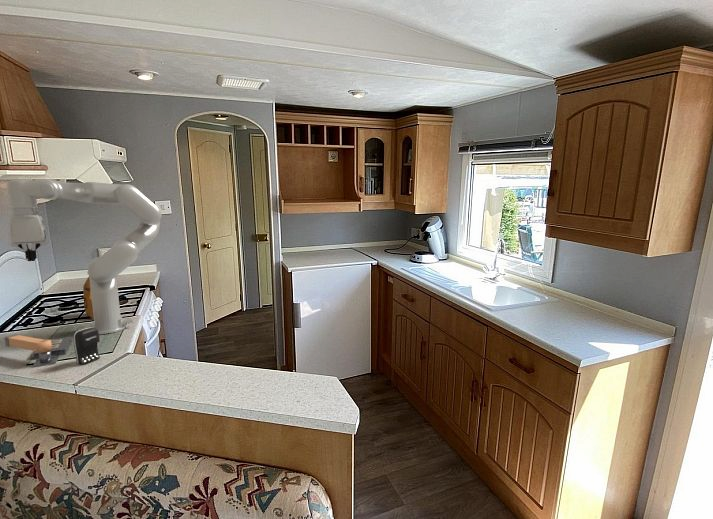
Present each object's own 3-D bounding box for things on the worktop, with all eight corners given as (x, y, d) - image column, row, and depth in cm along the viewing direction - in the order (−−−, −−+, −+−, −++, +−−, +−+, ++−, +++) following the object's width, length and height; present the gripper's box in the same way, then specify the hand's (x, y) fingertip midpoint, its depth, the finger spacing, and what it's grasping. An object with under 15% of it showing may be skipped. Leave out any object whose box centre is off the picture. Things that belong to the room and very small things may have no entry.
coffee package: (88, 321, 177) (82, 274, 174) (84, 315, 186) (78, 271, 183) (113, 316, 184) (108, 271, 180) (108, 311, 193) (103, 268, 190)
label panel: (72, 341, 150) (71, 336, 149) (65, 354, 137) (64, 348, 136) (43, 345, 145) (42, 340, 145) (33, 359, 132) (32, 353, 132)
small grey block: (59, 357, 134) (57, 346, 133) (55, 363, 129) (54, 352, 128) (37, 361, 131) (35, 350, 130) (32, 367, 126) (31, 355, 125)
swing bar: (18, 342, 137) (16, 333, 137) (55, 349, 130) (53, 339, 130) (4, 346, 134) (3, 337, 133) (42, 353, 127) (40, 343, 126)
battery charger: (83, 366, 126) (79, 333, 124) (75, 365, 127) (71, 332, 126) (103, 358, 133) (100, 326, 131) (95, 357, 134) (92, 325, 132)
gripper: (52, 212, 151) (57, 258, 153) (2, 213, 144) (9, 261, 146) (48, 212, 144) (54, 260, 147) (-5, 213, 137) (3, 263, 140)
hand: (31, 260), depth 147 cm, fingers closed
